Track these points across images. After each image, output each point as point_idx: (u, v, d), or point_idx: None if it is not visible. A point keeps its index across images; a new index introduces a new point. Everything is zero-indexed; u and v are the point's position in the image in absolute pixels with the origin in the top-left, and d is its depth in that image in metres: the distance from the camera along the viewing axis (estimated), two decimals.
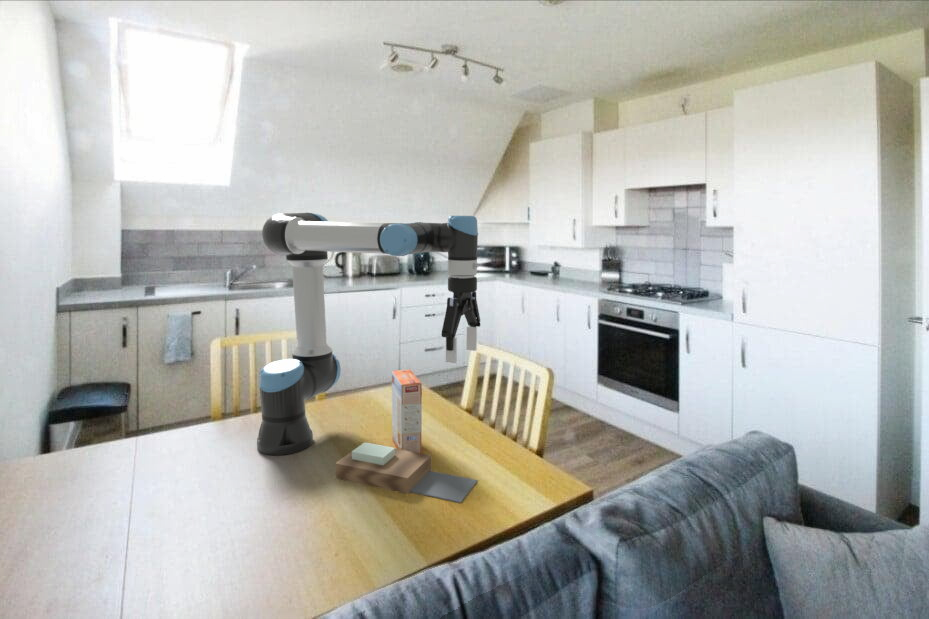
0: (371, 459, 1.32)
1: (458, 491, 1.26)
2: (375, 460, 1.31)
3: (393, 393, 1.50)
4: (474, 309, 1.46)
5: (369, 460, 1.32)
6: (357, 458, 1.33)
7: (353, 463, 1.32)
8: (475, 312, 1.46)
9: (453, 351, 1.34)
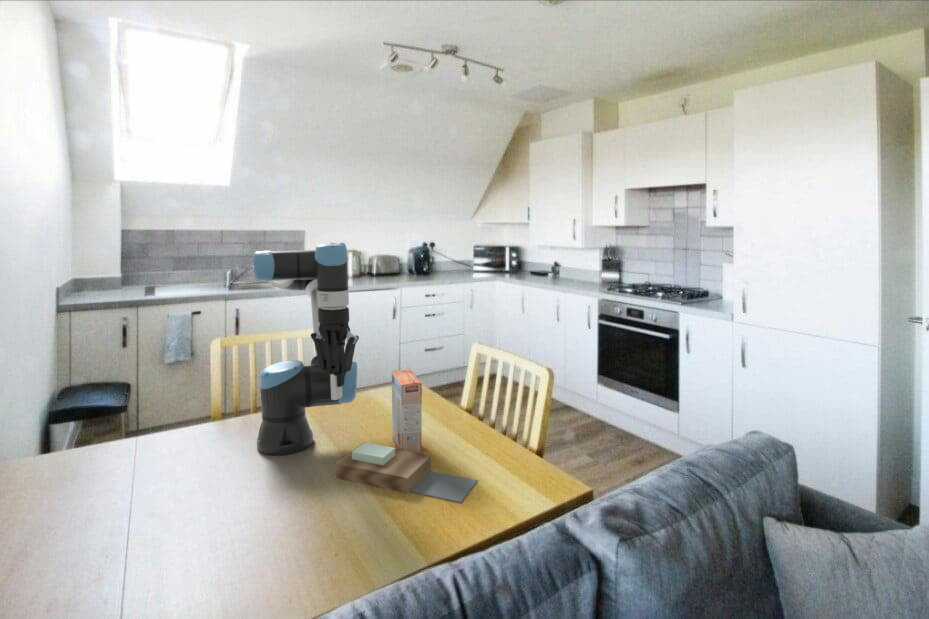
0: (371, 459, 1.32)
1: (458, 491, 1.26)
2: (375, 460, 1.31)
3: (393, 393, 1.50)
4: None
5: (369, 460, 1.32)
6: (357, 458, 1.33)
7: (353, 463, 1.32)
8: None
9: None
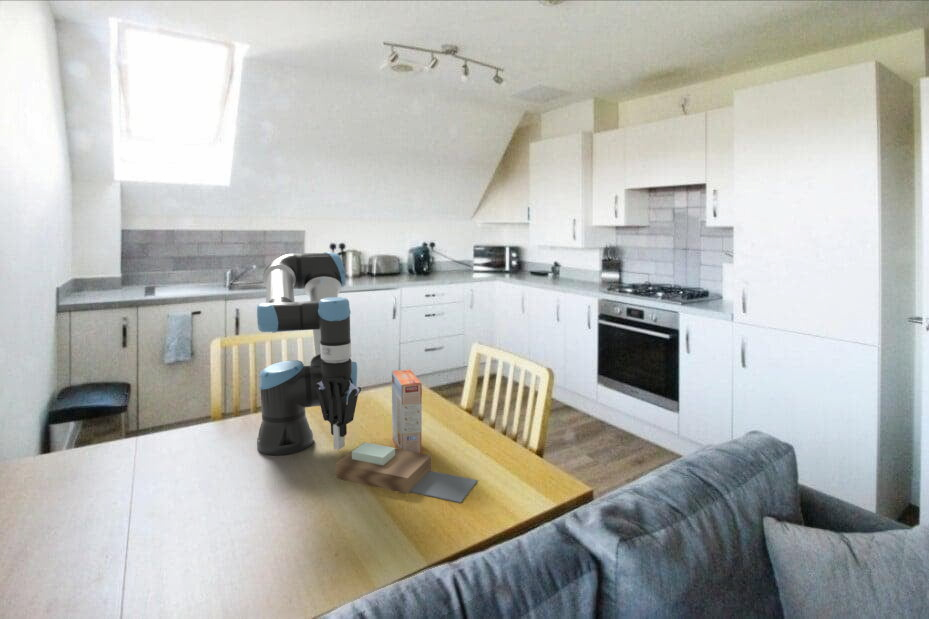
0: (371, 459, 1.32)
1: (458, 491, 1.26)
2: (375, 460, 1.31)
3: (393, 393, 1.50)
4: None
5: (369, 460, 1.32)
6: (357, 458, 1.33)
7: (353, 463, 1.32)
8: None
9: None
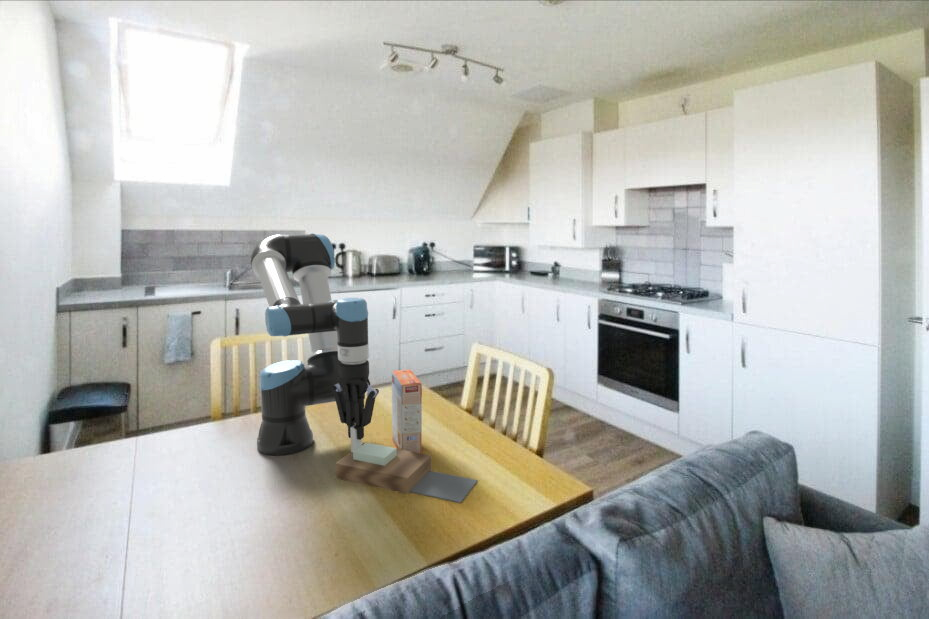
0: (372, 459, 1.32)
1: (458, 491, 1.26)
2: (376, 460, 1.31)
3: (393, 393, 1.50)
4: None
5: (370, 460, 1.32)
6: (358, 458, 1.33)
7: (353, 463, 1.32)
8: None
9: None
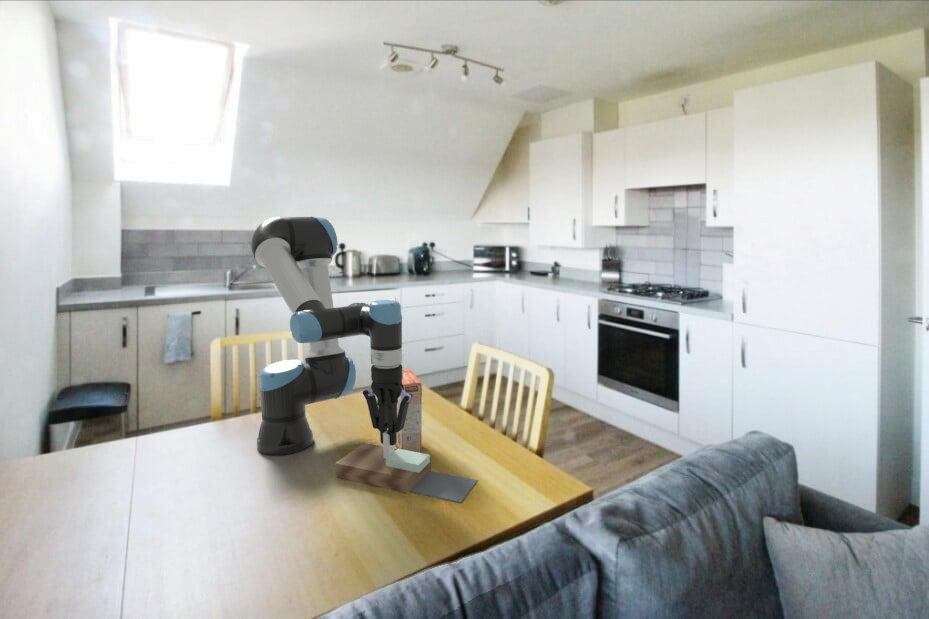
0: (406, 466, 1.28)
1: (458, 491, 1.26)
2: (410, 467, 1.28)
3: None
4: None
5: (404, 467, 1.29)
6: (391, 465, 1.30)
7: (353, 463, 1.32)
8: None
9: None
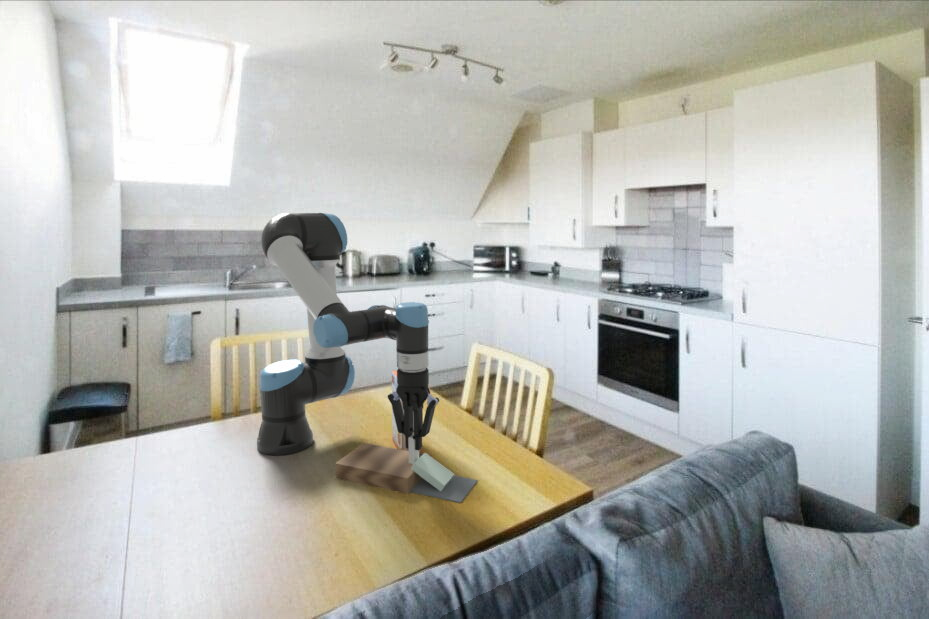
0: (431, 480, 1.26)
1: (458, 491, 1.26)
2: (435, 483, 1.26)
3: None
4: None
5: (428, 480, 1.27)
6: (416, 471, 1.28)
7: (353, 463, 1.32)
8: None
9: None
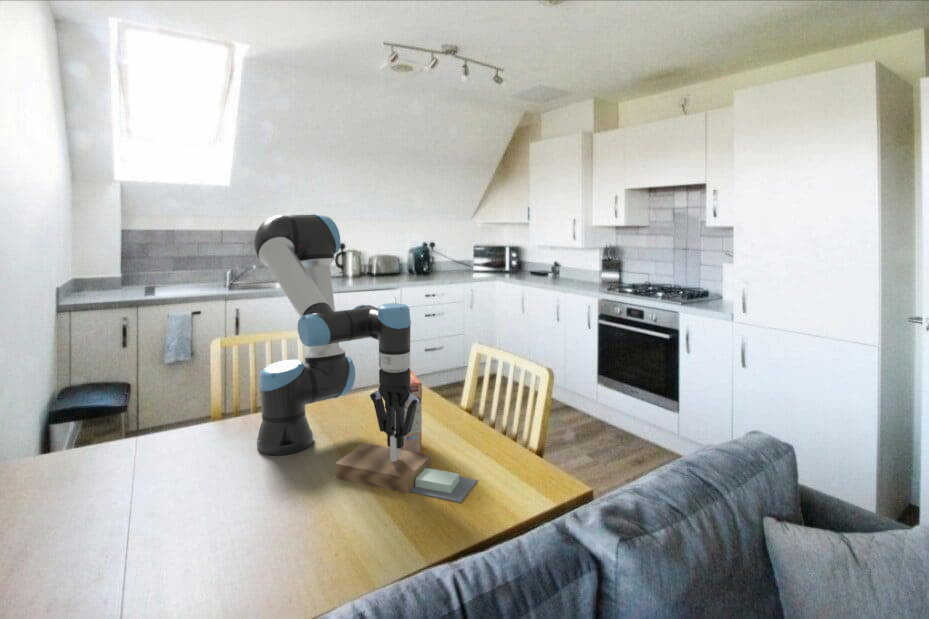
0: (437, 487, 1.26)
1: (458, 491, 1.26)
2: (441, 488, 1.26)
3: None
4: None
5: (435, 488, 1.26)
6: (421, 485, 1.28)
7: (353, 463, 1.32)
8: None
9: None
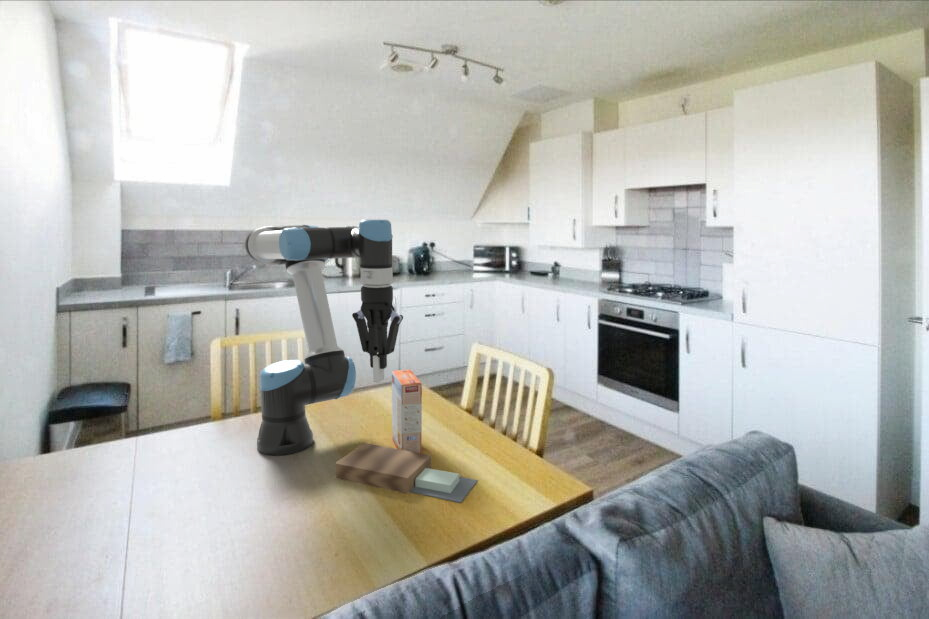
0: (437, 487, 1.26)
1: (458, 491, 1.26)
2: (441, 488, 1.26)
3: (393, 393, 1.50)
4: None
5: (435, 488, 1.26)
6: (421, 485, 1.28)
7: (353, 463, 1.32)
8: None
9: None
